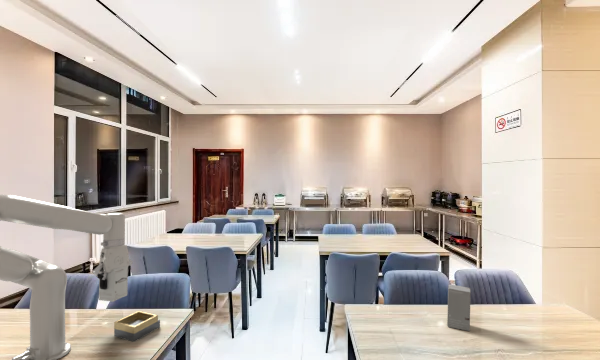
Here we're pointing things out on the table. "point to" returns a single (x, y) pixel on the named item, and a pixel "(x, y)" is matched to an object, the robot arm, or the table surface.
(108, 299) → the supplement box
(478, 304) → the table surface
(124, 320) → the gold-rimmed shallow tray
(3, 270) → the robot arm
